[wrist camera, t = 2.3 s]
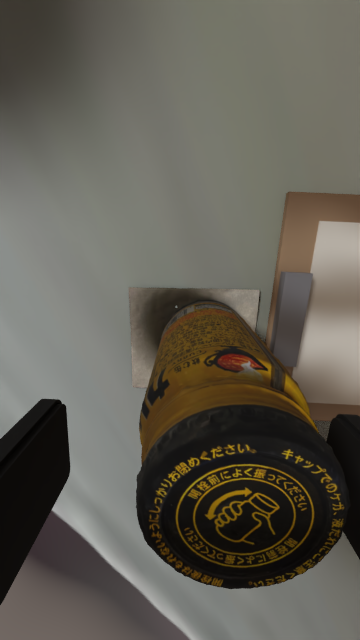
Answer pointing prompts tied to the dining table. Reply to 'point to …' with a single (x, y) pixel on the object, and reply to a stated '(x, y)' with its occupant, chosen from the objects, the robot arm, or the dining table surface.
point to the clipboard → (319, 301)
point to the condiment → (227, 445)
